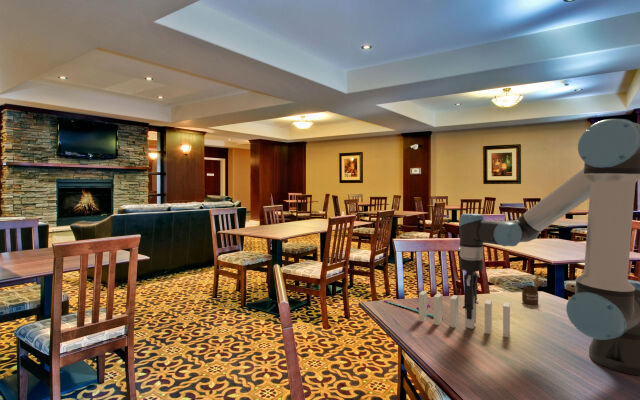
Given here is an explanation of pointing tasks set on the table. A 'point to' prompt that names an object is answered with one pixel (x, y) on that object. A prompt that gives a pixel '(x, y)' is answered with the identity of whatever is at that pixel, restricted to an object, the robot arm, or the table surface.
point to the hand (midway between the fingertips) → (470, 324)
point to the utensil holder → (530, 293)
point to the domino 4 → (474, 309)
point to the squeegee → (413, 309)
